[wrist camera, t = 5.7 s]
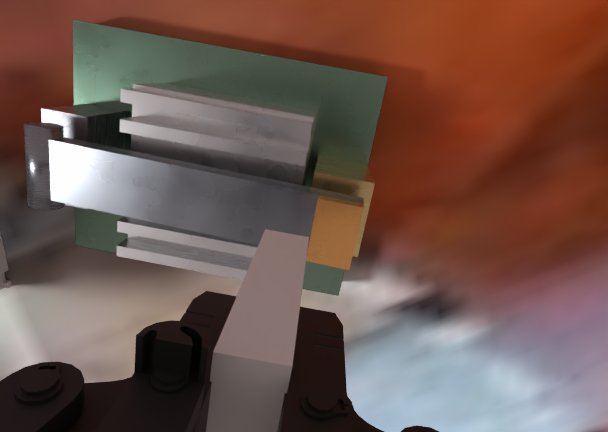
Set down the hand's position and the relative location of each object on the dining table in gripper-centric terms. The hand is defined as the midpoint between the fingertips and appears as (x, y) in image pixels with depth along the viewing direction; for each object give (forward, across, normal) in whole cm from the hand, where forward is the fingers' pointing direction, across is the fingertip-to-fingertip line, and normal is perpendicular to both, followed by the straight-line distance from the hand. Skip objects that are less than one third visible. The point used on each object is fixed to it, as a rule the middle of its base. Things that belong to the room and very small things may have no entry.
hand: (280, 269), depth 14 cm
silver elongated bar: (+7, -5, 0) cm, 8 cm away
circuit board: (+14, -5, 0) cm, 15 cm away
